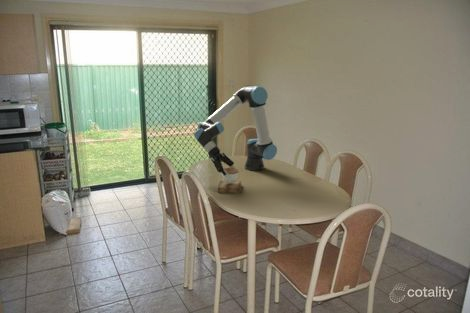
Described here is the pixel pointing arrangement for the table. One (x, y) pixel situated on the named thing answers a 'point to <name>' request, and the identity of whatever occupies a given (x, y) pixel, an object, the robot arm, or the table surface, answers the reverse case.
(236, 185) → the base
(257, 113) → the robot arm
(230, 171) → the lidded jar
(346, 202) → the table surface
